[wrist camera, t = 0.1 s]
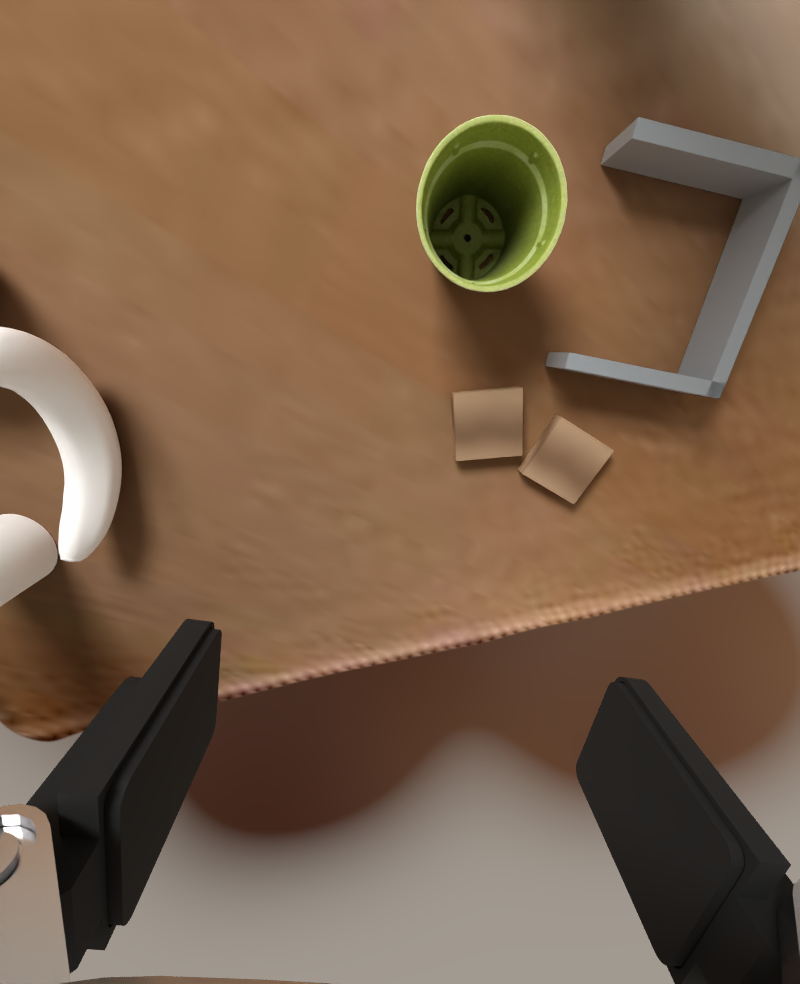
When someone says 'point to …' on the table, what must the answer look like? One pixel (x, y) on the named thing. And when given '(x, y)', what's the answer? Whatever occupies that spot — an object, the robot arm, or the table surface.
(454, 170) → the plant pot
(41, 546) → the cylindrical container
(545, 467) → the tile
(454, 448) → the tile
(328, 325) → the table surface
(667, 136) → the u-shaped fence
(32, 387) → the white curved piece
